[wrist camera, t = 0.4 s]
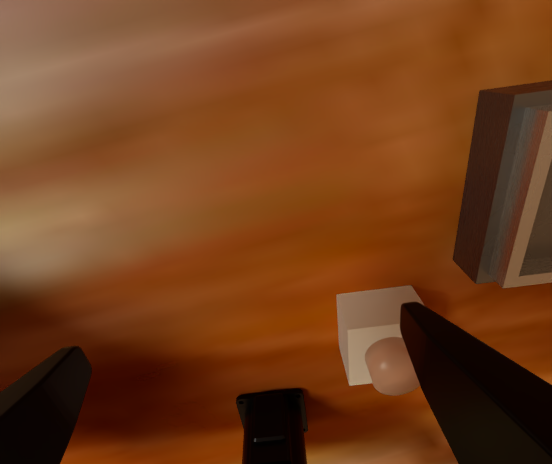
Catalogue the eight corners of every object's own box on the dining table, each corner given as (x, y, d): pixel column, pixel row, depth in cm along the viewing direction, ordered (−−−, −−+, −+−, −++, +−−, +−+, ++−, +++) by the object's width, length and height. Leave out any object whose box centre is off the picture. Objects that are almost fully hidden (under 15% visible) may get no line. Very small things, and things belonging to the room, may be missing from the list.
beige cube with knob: (406, 337, 28) (438, 400, 23) (338, 345, 29) (356, 410, 23) (410, 284, 26) (448, 341, 20) (336, 293, 26) (354, 352, 20)
